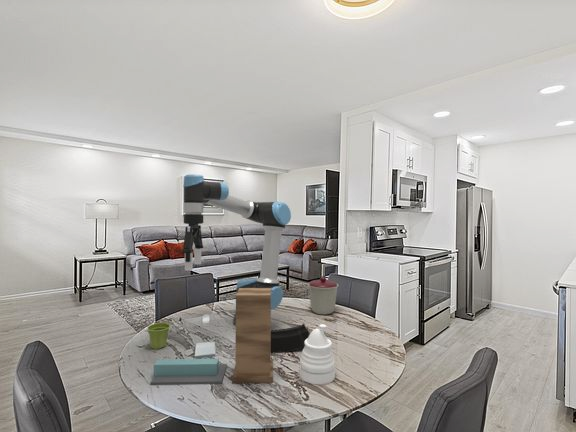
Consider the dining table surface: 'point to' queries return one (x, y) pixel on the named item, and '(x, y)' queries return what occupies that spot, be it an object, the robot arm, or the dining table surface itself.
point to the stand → (253, 336)
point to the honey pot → (317, 358)
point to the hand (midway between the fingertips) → (193, 267)
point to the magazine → (289, 339)
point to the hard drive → (205, 350)
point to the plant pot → (158, 334)
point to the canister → (323, 295)
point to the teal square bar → (186, 367)
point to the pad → (191, 378)
